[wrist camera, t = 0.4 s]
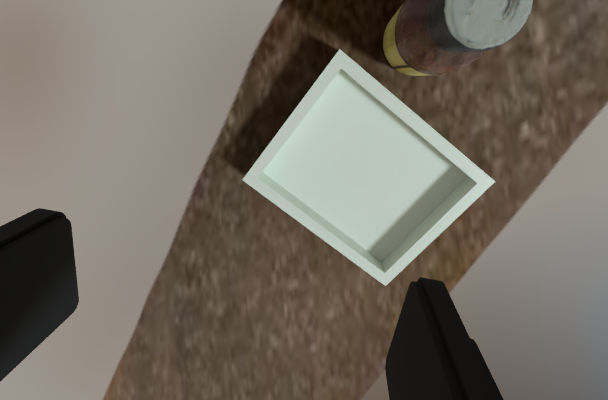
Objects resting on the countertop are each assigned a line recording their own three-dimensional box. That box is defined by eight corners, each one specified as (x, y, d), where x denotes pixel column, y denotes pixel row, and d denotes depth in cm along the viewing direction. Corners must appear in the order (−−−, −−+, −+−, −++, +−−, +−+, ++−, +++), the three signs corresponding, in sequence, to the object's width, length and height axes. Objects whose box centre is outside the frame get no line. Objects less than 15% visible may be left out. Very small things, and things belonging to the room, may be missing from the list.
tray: (339, 50, 36) (339, 49, 33) (481, 172, 39) (495, 181, 36) (249, 170, 41) (242, 179, 38) (381, 269, 44) (385, 286, 41)
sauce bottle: (459, 37, 35) (604, 1, 16) (411, 88, 37) (491, 109, 18) (411, -12, 33) (506, -113, 15) (364, 43, 35) (398, 16, 17)
